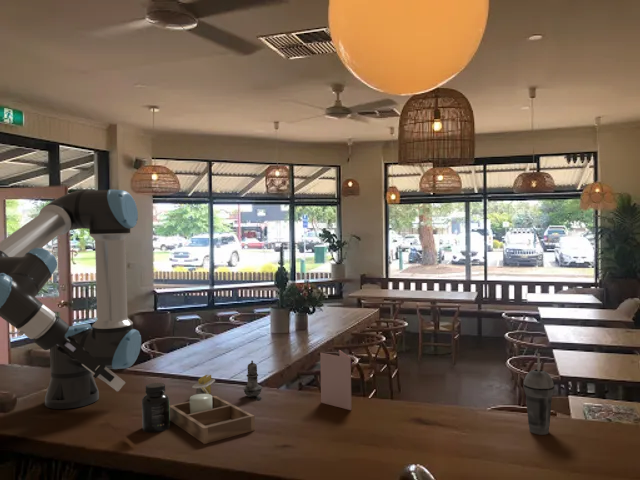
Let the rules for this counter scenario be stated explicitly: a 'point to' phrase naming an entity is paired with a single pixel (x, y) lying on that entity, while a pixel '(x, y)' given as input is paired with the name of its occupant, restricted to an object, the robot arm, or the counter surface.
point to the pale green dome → (200, 403)
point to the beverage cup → (538, 399)
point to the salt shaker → (252, 383)
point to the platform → (204, 385)
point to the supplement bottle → (155, 409)
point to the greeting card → (336, 380)
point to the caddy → (212, 420)
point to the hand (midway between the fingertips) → (112, 381)
